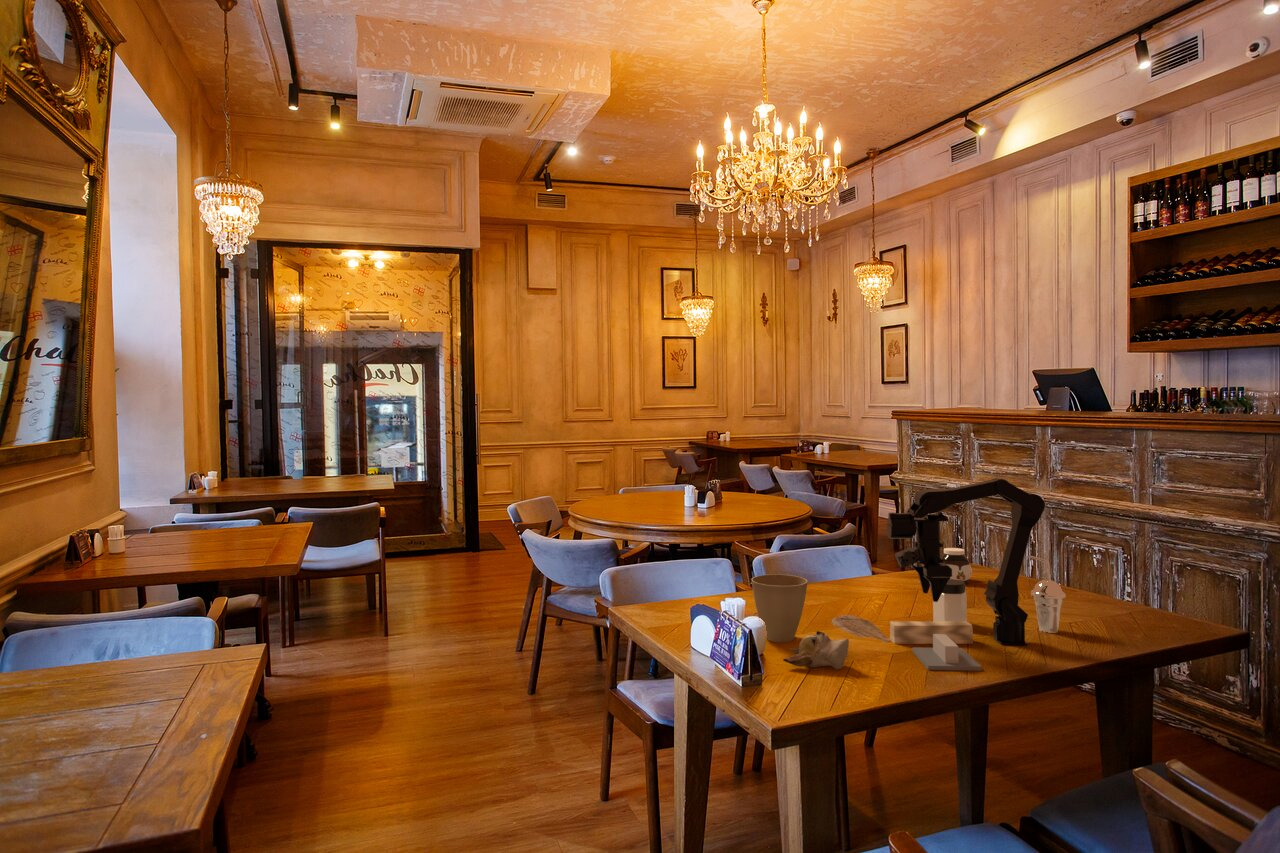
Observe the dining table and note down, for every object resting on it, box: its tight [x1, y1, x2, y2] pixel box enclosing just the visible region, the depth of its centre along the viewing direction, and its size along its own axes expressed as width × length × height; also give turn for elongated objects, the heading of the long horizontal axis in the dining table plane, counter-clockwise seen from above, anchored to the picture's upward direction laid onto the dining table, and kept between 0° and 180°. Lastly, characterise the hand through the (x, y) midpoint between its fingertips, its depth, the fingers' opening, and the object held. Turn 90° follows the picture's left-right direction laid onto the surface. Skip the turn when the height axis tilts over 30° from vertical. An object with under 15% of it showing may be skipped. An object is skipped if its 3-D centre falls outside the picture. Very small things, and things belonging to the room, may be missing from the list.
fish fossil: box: [831, 614, 892, 643], centre depth 210 cm, size 26×10×1 cm, turn 16°
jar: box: [932, 579, 968, 622], centre depth 214 cm, size 9×8×12 cm
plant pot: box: [750, 573, 809, 643], centre depth 203 cm, size 15×15×16 cm
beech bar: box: [889, 620, 974, 645], centre depth 198 cm, size 20×4×5 cm, turn 87°
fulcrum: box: [911, 634, 982, 672], centre depth 183 cm, size 12×14×5 cm
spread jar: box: [941, 547, 973, 584], centre depth 268 cm, size 12×11×12 cm
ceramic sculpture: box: [782, 630, 850, 670], centre depth 181 cm, size 11×9×15 cm
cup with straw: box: [1028, 554, 1067, 634], centre depth 206 cm, size 8×9×20 cm
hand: (930, 597), depth 198 cm, fingers open, 9 cm apart
